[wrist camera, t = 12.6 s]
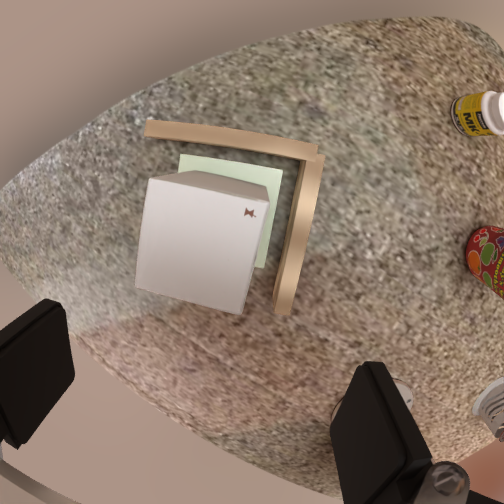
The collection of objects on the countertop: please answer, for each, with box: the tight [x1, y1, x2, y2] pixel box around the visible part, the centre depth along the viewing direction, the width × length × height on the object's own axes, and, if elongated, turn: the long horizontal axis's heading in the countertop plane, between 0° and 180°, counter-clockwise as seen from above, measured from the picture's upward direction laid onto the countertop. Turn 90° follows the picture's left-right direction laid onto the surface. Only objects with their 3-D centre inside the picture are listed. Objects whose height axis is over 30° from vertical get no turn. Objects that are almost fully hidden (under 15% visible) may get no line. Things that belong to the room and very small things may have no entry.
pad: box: [178, 154, 283, 269], centre depth 30 cm, size 10×10×1 cm
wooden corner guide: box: [144, 120, 325, 316], centre depth 28 cm, size 16×16×4 cm
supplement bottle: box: [451, 91, 504, 136], centre depth 22 cm, size 5×5×8 cm
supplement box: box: [134, 170, 270, 315], centre depth 23 cm, size 7×7×13 cm
